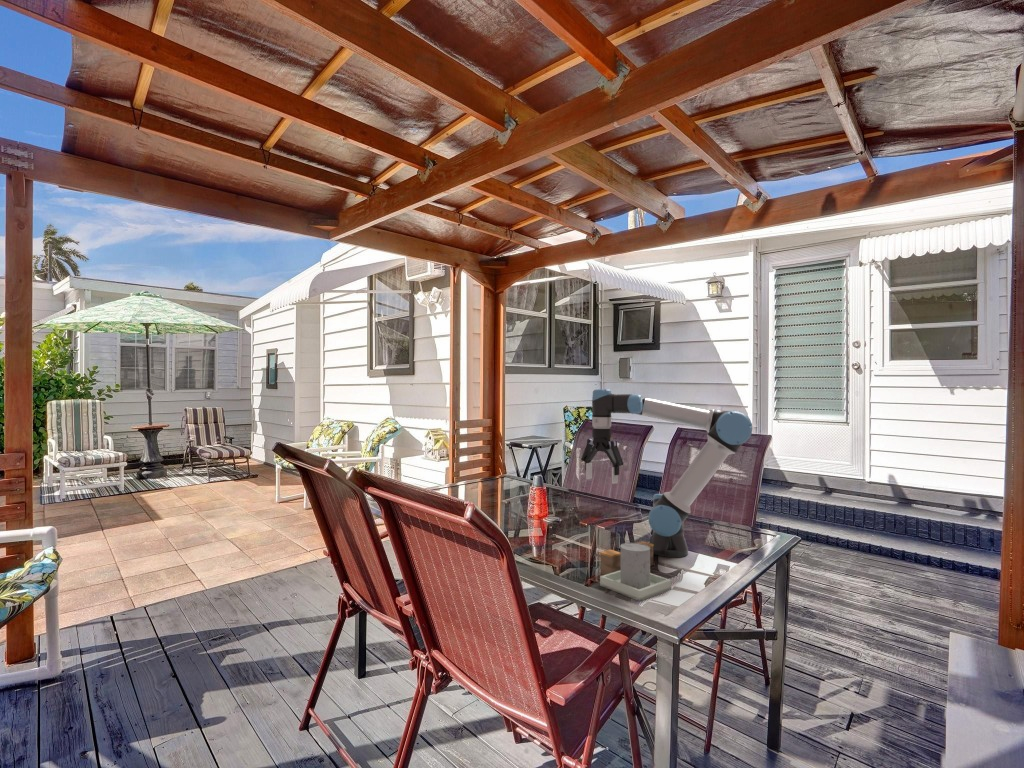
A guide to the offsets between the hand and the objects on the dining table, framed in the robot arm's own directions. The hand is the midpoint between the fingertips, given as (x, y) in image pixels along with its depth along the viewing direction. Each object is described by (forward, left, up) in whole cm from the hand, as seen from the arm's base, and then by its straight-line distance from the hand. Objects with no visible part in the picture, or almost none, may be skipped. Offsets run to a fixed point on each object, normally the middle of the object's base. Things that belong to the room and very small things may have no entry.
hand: (601, 481), depth 199 cm
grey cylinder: (+18, +31, -28) cm, 45 cm away
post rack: (+6, +18, -29) cm, 34 cm away
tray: (+18, +31, -29) cm, 46 cm away
